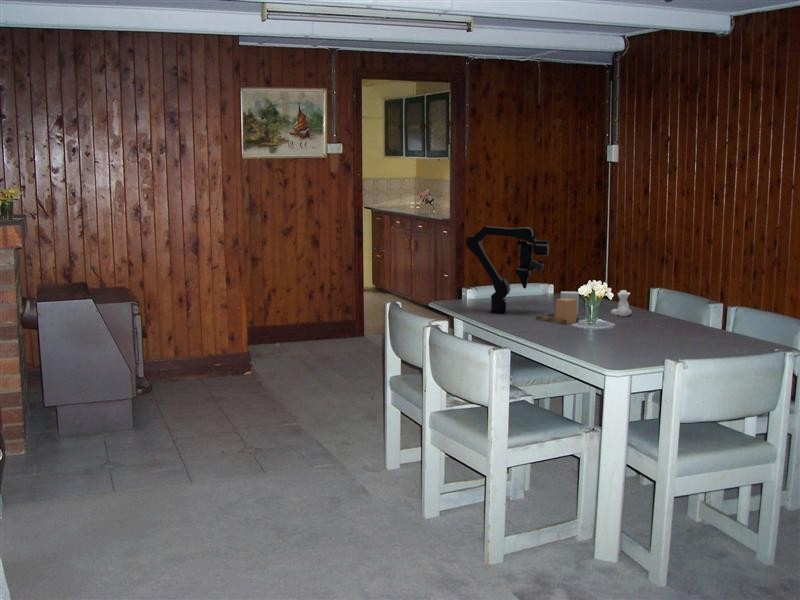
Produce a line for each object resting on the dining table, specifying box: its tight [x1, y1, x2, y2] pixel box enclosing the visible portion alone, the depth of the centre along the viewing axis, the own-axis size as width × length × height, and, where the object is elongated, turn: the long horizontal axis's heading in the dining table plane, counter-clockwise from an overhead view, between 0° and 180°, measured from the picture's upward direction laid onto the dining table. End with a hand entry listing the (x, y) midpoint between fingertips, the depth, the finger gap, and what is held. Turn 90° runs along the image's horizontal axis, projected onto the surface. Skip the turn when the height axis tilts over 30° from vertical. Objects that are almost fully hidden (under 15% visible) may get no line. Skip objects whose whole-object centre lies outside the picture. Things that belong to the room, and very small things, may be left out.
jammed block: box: [555, 298, 578, 325], centre depth 380 cm, size 6×7×10 cm
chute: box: [535, 312, 580, 326], centre depth 383 cm, size 18×10×3 cm, turn 43°
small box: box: [559, 290, 580, 315], centre depth 404 cm, size 8×6×10 cm
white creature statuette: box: [610, 289, 632, 317], centre depth 404 cm, size 10×9×12 cm
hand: (524, 288), depth 404 cm, fingers closed
